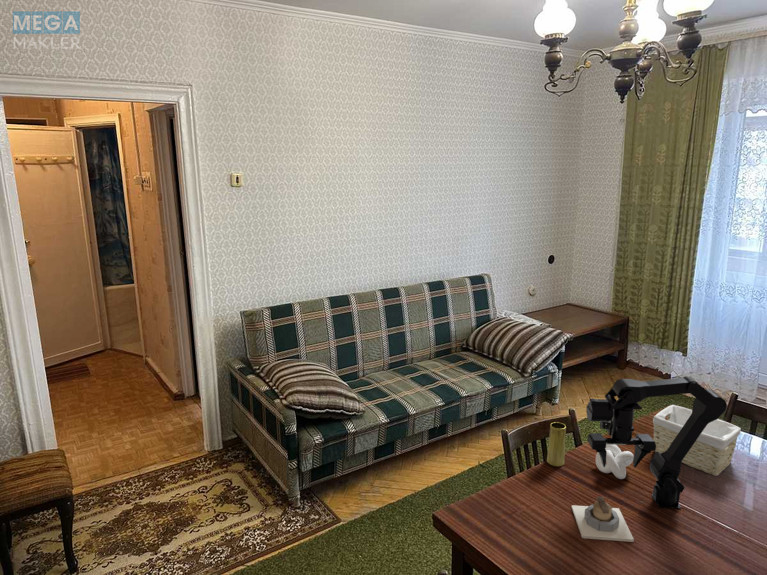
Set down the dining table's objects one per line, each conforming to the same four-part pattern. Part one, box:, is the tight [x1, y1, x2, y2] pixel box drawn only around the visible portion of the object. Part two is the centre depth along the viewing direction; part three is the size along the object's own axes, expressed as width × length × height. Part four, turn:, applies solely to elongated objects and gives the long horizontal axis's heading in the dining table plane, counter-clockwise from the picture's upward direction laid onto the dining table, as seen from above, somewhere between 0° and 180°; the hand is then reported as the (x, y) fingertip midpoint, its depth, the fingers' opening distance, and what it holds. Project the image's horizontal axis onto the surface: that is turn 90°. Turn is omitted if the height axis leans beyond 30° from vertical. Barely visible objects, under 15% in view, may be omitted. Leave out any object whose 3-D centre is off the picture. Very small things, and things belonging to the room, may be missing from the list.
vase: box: [546, 421, 567, 467], centre depth 190 cm, size 6×6×14 cm
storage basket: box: [652, 404, 742, 477], centre depth 192 cm, size 24×16×15 cm
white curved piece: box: [595, 445, 634, 480], centre depth 184 cm, size 11×12×9 cm
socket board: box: [571, 504, 635, 543], centre depth 158 cm, size 14×14×3 cm
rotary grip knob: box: [593, 495, 613, 522], centre depth 158 cm, size 6×5×6 cm
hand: (619, 466), depth 167 cm, fingers open, 9 cm apart
